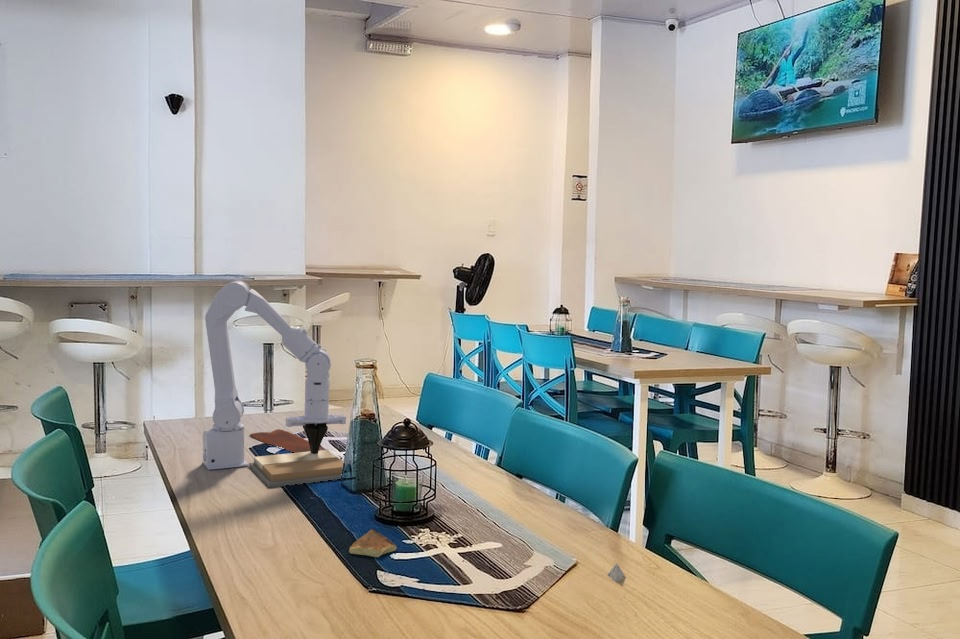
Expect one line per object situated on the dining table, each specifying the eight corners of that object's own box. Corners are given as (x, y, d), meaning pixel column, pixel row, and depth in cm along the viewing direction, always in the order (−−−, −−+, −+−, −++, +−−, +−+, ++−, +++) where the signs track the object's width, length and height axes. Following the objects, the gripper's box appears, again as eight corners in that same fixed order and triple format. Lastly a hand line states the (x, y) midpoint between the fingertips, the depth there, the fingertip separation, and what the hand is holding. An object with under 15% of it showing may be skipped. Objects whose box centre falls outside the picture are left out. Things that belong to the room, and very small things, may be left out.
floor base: (269, 487, 194) (269, 477, 193) (249, 466, 210) (249, 456, 210) (355, 477, 203) (355, 467, 203) (330, 458, 220) (330, 448, 219)
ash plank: (262, 471, 203) (262, 464, 203) (254, 463, 210) (254, 456, 210) (337, 463, 211) (337, 457, 211) (326, 455, 219) (326, 449, 218)
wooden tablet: (247, 438, 242) (247, 432, 242) (280, 433, 248) (280, 427, 248) (294, 458, 222) (294, 451, 221) (329, 452, 228) (329, 445, 228)
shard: (372, 535, 166) (372, 526, 166) (409, 540, 164) (410, 531, 164) (347, 555, 156) (347, 546, 156) (387, 561, 154) (387, 551, 153)
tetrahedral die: (613, 579, 150) (609, 561, 150) (627, 578, 148) (622, 560, 148) (601, 585, 147) (597, 567, 147) (615, 584, 145) (611, 565, 146)
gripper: (291, 403, 207) (289, 460, 208) (350, 401, 214) (348, 456, 215) (284, 397, 213) (282, 452, 215) (341, 395, 220) (339, 449, 221)
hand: (314, 454), depth 215 cm, fingers closed, pressing on ash plank
